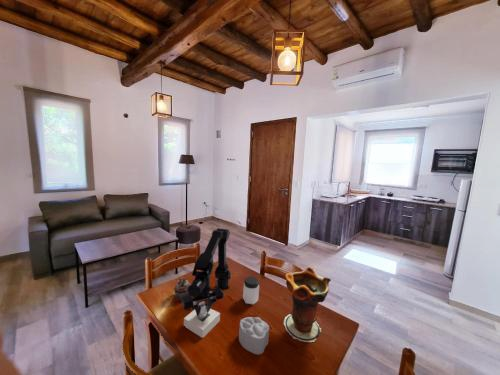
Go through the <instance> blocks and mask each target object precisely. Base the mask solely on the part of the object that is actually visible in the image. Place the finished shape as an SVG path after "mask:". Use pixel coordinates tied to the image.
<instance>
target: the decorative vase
mask: <svg viewBox="0 0 500 375" xmlns="http://www.w3.org/2000/svg"><path fill="white" fill-rule="evenodd" d="M331 280H332V279H331V278H330V277H321V276H320V275H318V274H317V273H316V272H315V271H314V268H312V267H311V266H307V267H306V268H305V269H304V270H303V271H296V272H288V273H286V274H285V286H286V288H287V291H288V294H290V295H291V311H290V314H288V315H287V316H285V317H284V320H283V325H284V327H285V330H286V332H287V333H289V335H290V336H291V337H292V339H294V340H298V341H300V342H304V343H306V342H307V343H312V342H313V343H314V342H315V341H317V337H318V336H320V334H321V333H322V328H321V327H320V324H319V322H318V320H317V317H316V315H317V311H318V305H319V304H320V303H323V302H325V300H326V299H327V296H328V293H329V291H330V286H329V284H330V282H331Z"/></svg>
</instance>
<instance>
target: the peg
mask: <svg viewBox="0 0 500 375" xmlns="http://www.w3.org/2000/svg"><path fill="white" fill-rule="evenodd" d="M198 306H199V314H198V320H200V321H202V322H203V321H204V320H205V319H207V302H206V301H205V300H202V301H201V302H200V301H199V302H198Z"/></svg>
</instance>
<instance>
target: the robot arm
mask: <svg viewBox="0 0 500 375" xmlns="http://www.w3.org/2000/svg"><path fill="white" fill-rule="evenodd" d="M230 234H231V233H230V230H229V229H227V228H219V227H218V228H217V229H213V230H212V232H211V236H210V239H209V241H208V243H207V245H206V247H205V249H204V251H203V252H202V253H200V254H199V256H198V257H197V259H196V261H195V263H194V266H193V270H192V272H191V273H192V274H191V276H194V279H193V280H192V282H191V283H190V286H189V287H188V293H189V295H188V296H184V297H183V298H182V301H181V305H182V307H183V310H189V309H192V310H193V309H194V310H195V311H196V314H197V316H198V314H199V302H200V301H201V302H202V301H205V300H207V313H208V312H209V310H210V309H212V307H213V306H214V304H215V303H217V302H218V301H219V300H222V299H223V298H224V292H223V290H226V289H227V290H228V289H230V286H229V280H231V275H232V274H231V271H230V267H229V265H228V264H227V242H228V240H229V239H230ZM216 250H217V256H218V258H217V260H218V261H217V262H218V263H217V266H216V267H215V270H214V278H215V279H216V283H215V286H216V287H214V288H212V289H211V275H212V273H213V269H214V266H215V265H214V262H215V260H214V255H215V252H216ZM210 290H211V291H210ZM217 300H218V301H217Z"/></svg>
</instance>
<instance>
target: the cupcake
mask: <svg viewBox="0 0 500 375" xmlns="http://www.w3.org/2000/svg"><path fill="white" fill-rule="evenodd" d="M190 284H191V283H190V282H189V281H188V280H187V279H181V278H179V279H178V280H177V283H176V284H175V286H174V288H173V290H174V291H173V292H174V295H175V299H176V300H177V301H179V302H180V301H181V302H182V298H183V297H184V296H188V295H189V293H188V287H189V286H190Z"/></svg>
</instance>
